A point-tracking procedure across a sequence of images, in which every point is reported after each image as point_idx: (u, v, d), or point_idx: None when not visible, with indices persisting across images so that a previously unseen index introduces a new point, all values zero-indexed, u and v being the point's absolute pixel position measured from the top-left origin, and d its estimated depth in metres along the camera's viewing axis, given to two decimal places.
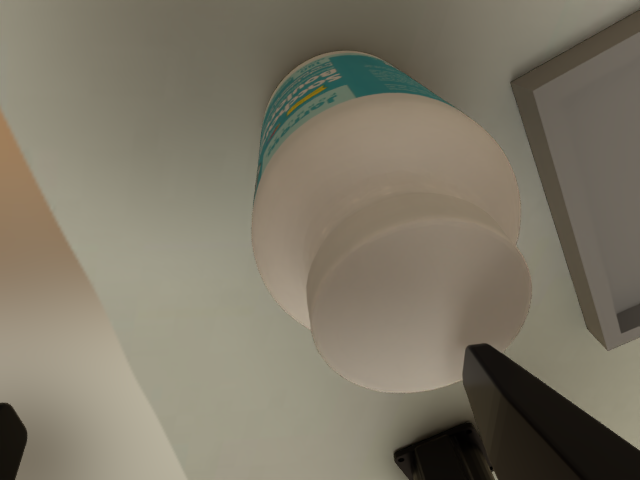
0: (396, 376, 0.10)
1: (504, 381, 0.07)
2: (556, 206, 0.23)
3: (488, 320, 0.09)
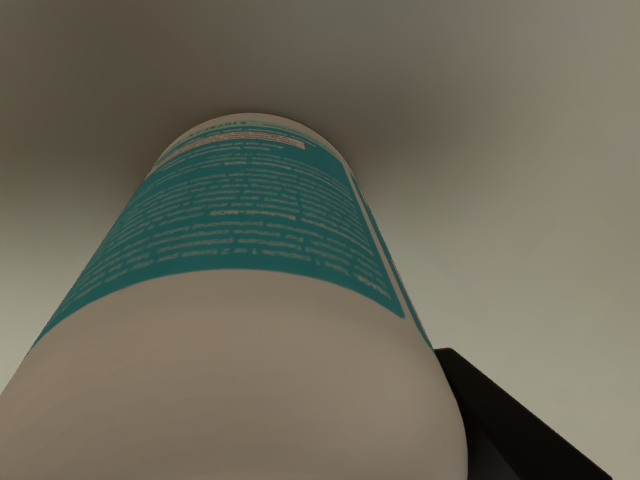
0: None
1: (462, 386, 0.07)
2: None
3: None
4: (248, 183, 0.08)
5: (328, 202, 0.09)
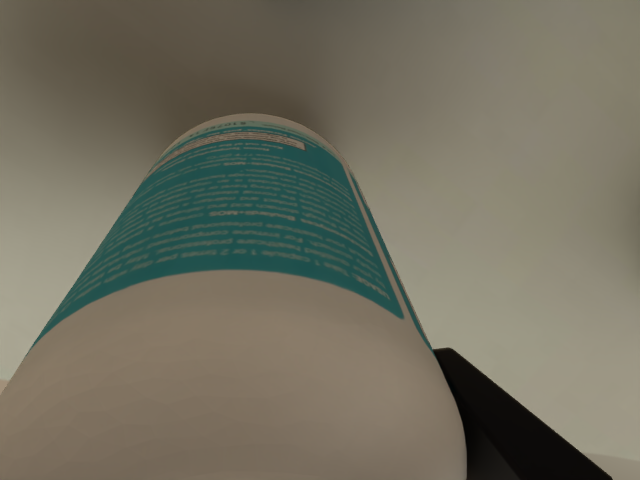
0: None
1: (462, 386, 0.07)
2: None
3: None
4: (247, 184, 0.08)
5: (328, 203, 0.09)
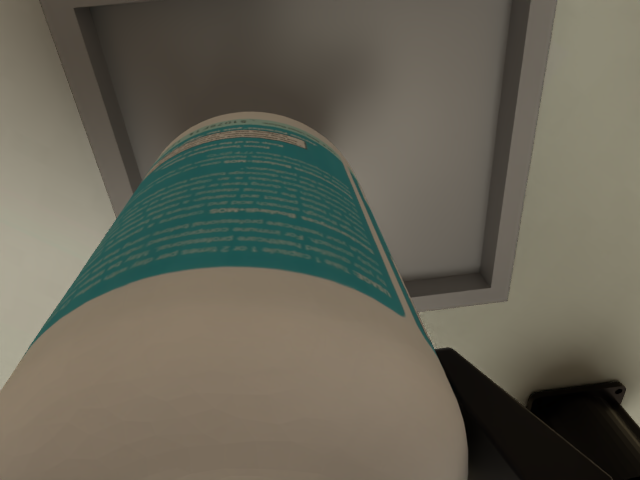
0: None
1: (462, 387, 0.07)
2: None
3: None
4: (248, 181, 0.08)
5: (329, 200, 0.09)
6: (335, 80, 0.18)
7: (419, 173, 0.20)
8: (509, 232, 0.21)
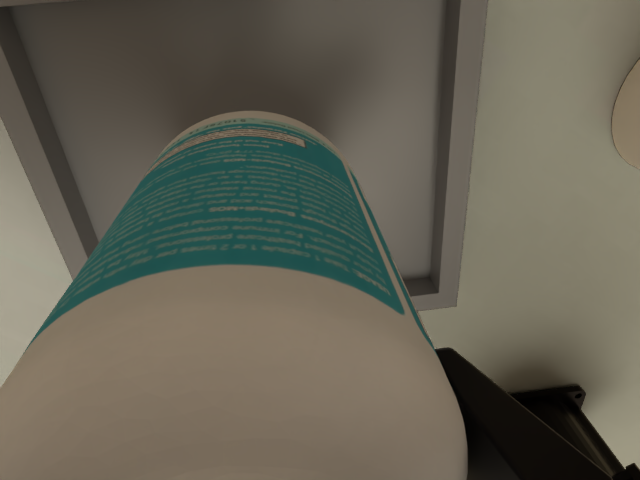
0: None
1: (462, 386, 0.07)
2: None
3: None
4: (247, 180, 0.08)
5: (328, 199, 0.09)
6: (269, 83, 0.17)
7: (362, 177, 0.20)
8: (453, 237, 0.20)
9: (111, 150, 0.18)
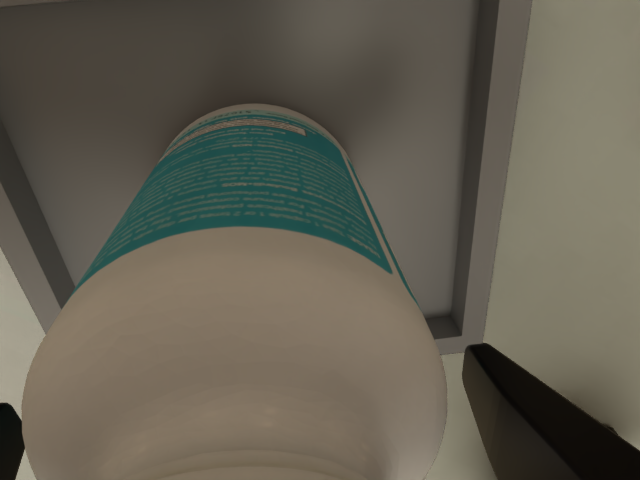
0: None
1: (504, 381, 0.07)
2: None
3: None
4: (254, 162, 0.09)
5: (327, 179, 0.10)
6: (268, 101, 0.15)
7: (375, 207, 0.17)
8: (481, 275, 0.18)
9: (84, 178, 0.16)
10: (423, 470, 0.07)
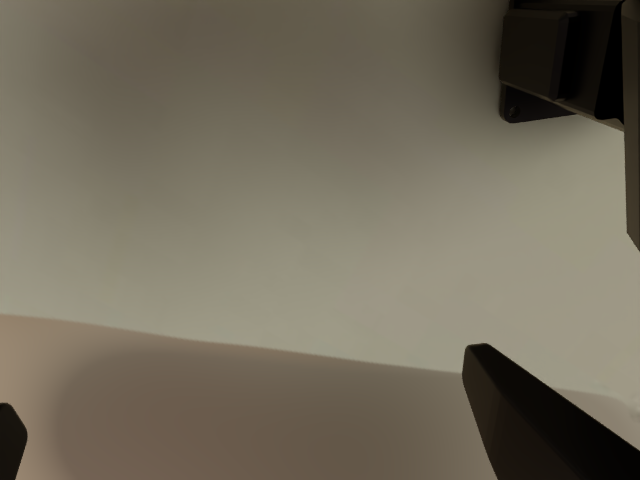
0: None
1: (504, 381, 0.07)
2: None
3: None
4: None
5: None
6: None
7: None
8: None
9: None
10: None
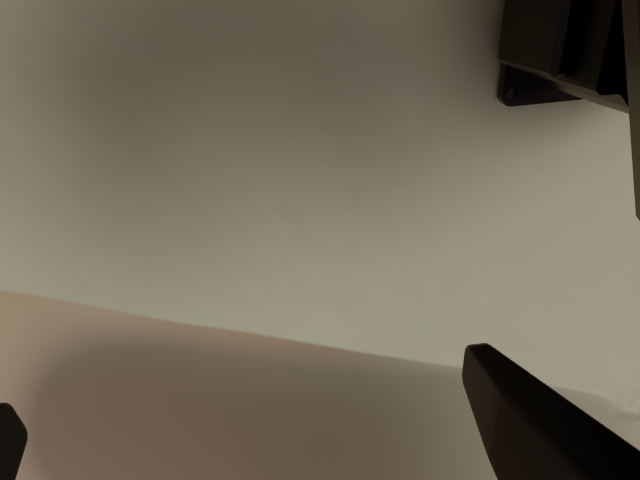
0: None
1: (504, 381, 0.07)
2: None
3: None
4: None
5: None
6: None
7: None
8: None
9: None
10: None
